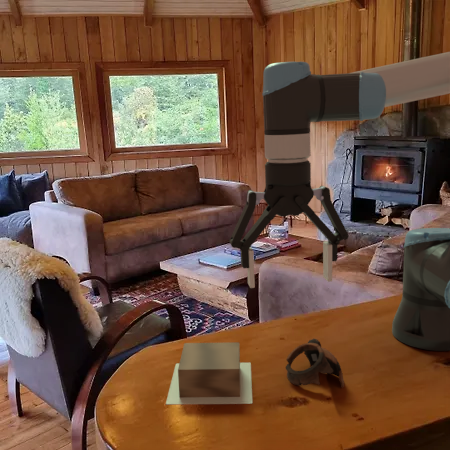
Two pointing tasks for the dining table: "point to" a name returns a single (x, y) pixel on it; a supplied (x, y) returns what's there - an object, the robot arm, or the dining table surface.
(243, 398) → the build board
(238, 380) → the walnut block
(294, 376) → the pottery mug
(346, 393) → the dining table surface
